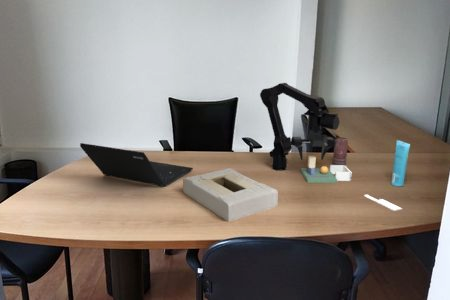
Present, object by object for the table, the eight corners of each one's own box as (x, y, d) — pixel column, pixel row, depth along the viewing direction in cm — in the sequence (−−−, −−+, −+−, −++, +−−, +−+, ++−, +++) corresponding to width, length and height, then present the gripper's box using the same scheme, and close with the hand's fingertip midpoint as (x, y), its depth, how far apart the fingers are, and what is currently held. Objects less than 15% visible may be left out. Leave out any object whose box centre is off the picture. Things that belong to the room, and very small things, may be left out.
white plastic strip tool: (373, 195, 158) (373, 192, 157) (403, 209, 145) (404, 207, 144) (364, 196, 155) (364, 194, 155) (393, 212, 142) (394, 209, 142)
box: (182, 194, 157) (228, 223, 132) (181, 176, 155) (228, 202, 130) (228, 183, 170) (278, 208, 145) (228, 166, 168) (279, 189, 143)
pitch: (307, 182, 169) (307, 177, 168) (300, 171, 183) (301, 166, 183) (337, 182, 169) (337, 177, 169) (327, 171, 184) (328, 166, 183)
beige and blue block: (309, 175, 172) (310, 159, 170) (306, 170, 179) (307, 154, 177) (315, 175, 172) (317, 159, 170) (312, 170, 179) (313, 154, 177)
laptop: (193, 171, 183) (193, 131, 177) (146, 200, 150) (143, 152, 145) (137, 161, 196) (134, 124, 191) (81, 186, 164) (77, 142, 158)
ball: (320, 175, 174) (321, 167, 173) (318, 172, 178) (319, 165, 177) (328, 175, 174) (329, 167, 173) (326, 172, 178) (327, 165, 177)
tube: (408, 186, 166) (414, 143, 160) (400, 188, 164) (406, 144, 158) (394, 180, 172) (399, 139, 167) (386, 182, 170) (392, 140, 165)
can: (346, 168, 188) (349, 140, 184) (333, 167, 190) (335, 139, 186) (345, 164, 194) (348, 137, 190) (332, 163, 195) (334, 136, 191)
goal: (335, 180, 172) (336, 172, 171) (329, 173, 181) (330, 165, 180) (351, 180, 172) (351, 172, 171) (344, 173, 181) (344, 165, 180)
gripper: (296, 130, 162) (294, 165, 166) (340, 130, 162) (337, 165, 167) (292, 124, 172) (289, 157, 177) (333, 124, 173) (330, 157, 177)
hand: (311, 159), depth 174 cm, fingers open, 9 cm apart
